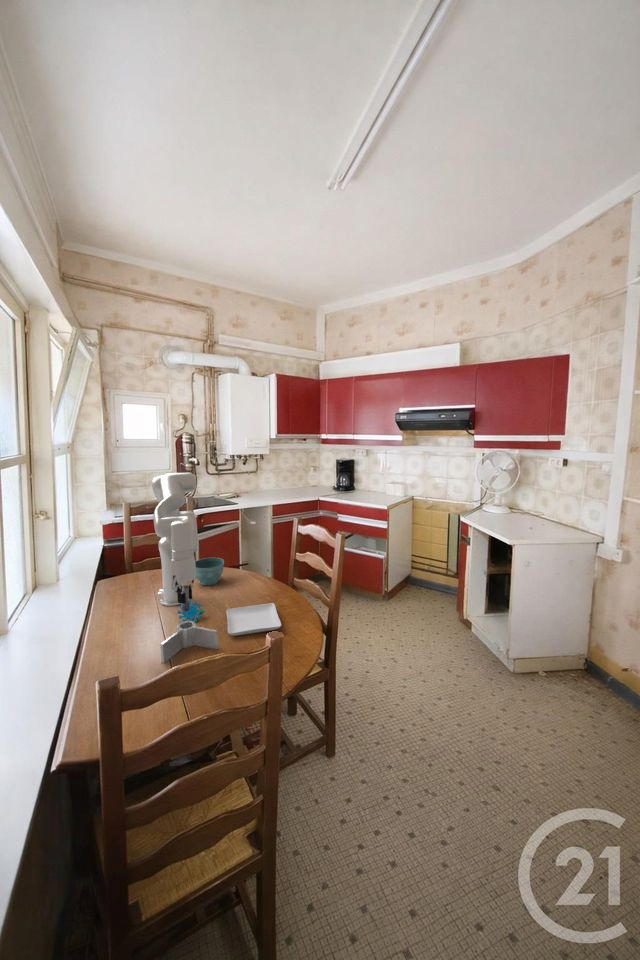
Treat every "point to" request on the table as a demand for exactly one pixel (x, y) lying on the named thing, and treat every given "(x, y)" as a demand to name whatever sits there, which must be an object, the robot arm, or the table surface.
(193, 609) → the blue spiky piece
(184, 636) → the hinge
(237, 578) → the table surface
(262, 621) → the salad plate
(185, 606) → the pin
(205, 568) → the teal bowl
